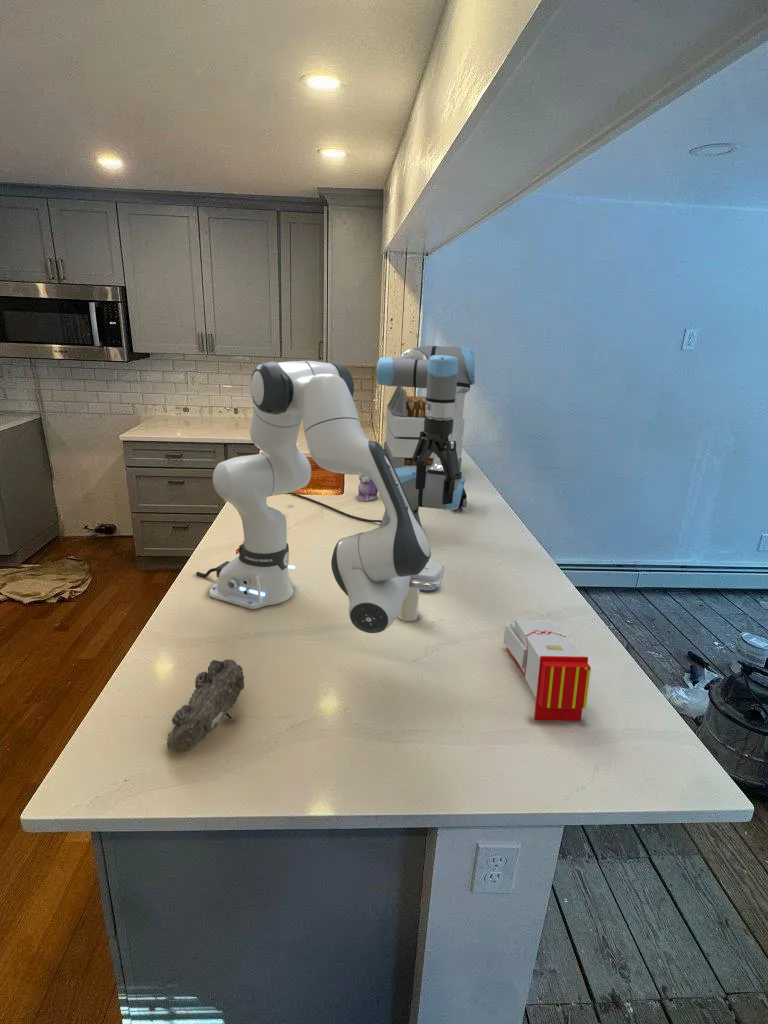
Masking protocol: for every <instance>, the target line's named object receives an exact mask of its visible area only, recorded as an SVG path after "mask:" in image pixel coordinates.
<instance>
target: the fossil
mask: <svg viewBox="0 0 768 1024" xmlns="http://www.w3.org/2000/svg"><path fill="white" fill-rule="evenodd" d="M243 670H244V669H243V667H242V665H240V664H237V662H236V661H235V660H234V659H232V658H231V659H227V658H226V659H224V660H223V661H222V660H217V659H212V660H211V661H210V663H209V665H208V666H207V671H201V672H199V673H198V674H197V675H196V676H195V680H194V684H195V685H194V687H195V689H194V690H193V693H192V694H191V697H190V698H189V700H188V704H184V705H182V706H181V707H180V709H177V710H176V711H175V713H174V715H173V716H172V718H171V723H172V724H173V727H172V730H171V731H170V732H168V734H167V738H166V741H167V742H166V745H167V749H168V750H169V751H173V752H174V753H176V754H178V753H182V752H188V751H189V752H192V751H193V750H195V748H196V747H197V746H199V744H200V743H201V742H203V741H204V740H205V739H206V738H207V737H208V736H209V735H210V734H211V733H212V732H214V730H215V729H217V727H218V726H219V724H220V722H221V721H222V720H223V719H224V718H225V716H226V717H227V719H229V720H233V717H232V715H230V714H229V710H230V709H231V708H234V706H235V704H236V703H237V702H238V699H239V697H240V695H241V693H242V691H243V690H245V689H244V688H245V675H244V671H243Z"/></svg>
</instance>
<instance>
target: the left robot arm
mask: <svg viewBox="0 0 768 1024" xmlns="http://www.w3.org/2000/svg"><path fill="white" fill-rule="evenodd" d="M354 394H355V383H354V378H353V375H352V373H351V372H350V370H349V368H347V366H345V365H343V364H340V363H337V362H332V361H330V362H323V361H316V360H304V359H303V360H291V361H290V360H289V361H288V360H287V361H280V362H279V361H274V360H272V361H267V362H263V363H260V364H258V365H256V367H255V368H254V370H253V372H252V374H251V377H250V395H251V399H252V402H253V404H254V408H253V413H252V419H251V424H250V428H249V436H250V439H251V441H252V444H254V446H255V447H256V448H257V449H258V450H260V451H262V453H256V454H249V455H240V456H235V457H231V458H228V459H226V460H223V461H220V462H219V463H217V465H216V466H215V468H214V470H213V473H212V485H213V488H214V491H215V492H216V494H217V495H218V496H219V497H220V498H221V499H222V500H224V501H226V502H228V503H230V505H232V506H233V508H235V510H236V511H237V512H238V514H239V516H240V519H241V522H242V530H243V543H241V544H240V545H239V546H238V548H237V549H236V550H235V555H238V556H237V557H235V558H234V559H232V560H231V561H229V560H227V561H225V562H223V563H221V564H220V565H217V566H216V567H213V568H209V569H208V570H207V571H206V573H203V572H200V571H196V572H195V574H196V576H199V577H202V578H207V577H209V575H211V573H214V572H216V578H218V579H217V580H216V581H215V582H214V583H213V584H212V586H211V587H210V588H209V594H208V596H209V597H210V598H213V599H217V600H219V601H223V602H226V603H230V604H233V605H236V606H240V607H243V608H246V609H249V610H257V609H260V608H263V607H267V606H273V605H278V604H282V603H284V602H286V601H287V600H288V601H289V599H291V598H292V597H293V595H294V592H295V590H294V587H293V583H292V581H291V575H290V571H289V569H292V570H293V569H296V566H295V565H289V564H290V550H289V549H290V548H289V543H288V532H287V531H288V530H287V529H288V527H287V519H286V516H285V515H284V513H283V512H281V511H280V510H278V509H277V508H274V507H271V506H269V505H268V504H267V503H268V502H267V498H268V497H274V496H279V495H285V494H287V493H294V492H295V491H299V490H302V489H303V488H305V487H307V486H308V485H309V483H310V481H311V477H312V466H311V463H310V461H309V459H308V457H307V456H306V455H305V454H303V453H302V452H301V451H299V449H298V447H297V444H298V443H297V441H298V436H299V431H300V428H301V422H302V426H303V431H304V437H305V441H306V446H307V449H308V452H309V455H310V457H311V459H312V460H313V461H314V463H315V464H316V465H317V466H319V467H320V468H321V469H322V470H323V469H324V470H326V471H328V472H330V473H334V474H341V475H352V476H353V475H354V476H359V475H362V476H366V477H368V478H370V479H371V480H372V481H373V482H374V484H375V486H376V488H377V490H378V492H377V494H378V495H379V497H380V499H381V502H382V504H383V507H384V510H385V509H386V511H387V514H388V516H389V518H390V523H389V524H388V525H387V526H384V527H381V528H379V527H378V528H375V529H370V530H367V531H362V532H358V533H355V534H352V535H347V536H346V537H342V538H339V540H338V541H337V542H336V545H335V546H334V549H333V552H332V555H331V562H330V565H331V571H332V575H333V577H334V580H335V582H336V584H337V585H338V587H339V588H340V589H341V591H342V592H343V593H344V594H345V595H346V596H347V598H348V616H349V617H348V618H349V619H350V623H352V625H353V626H354V627H355V628H356V629H357V630H359V631H361V632H364V633H368V634H378V633H382V632H384V631H386V630H387V629H388V628H389V627H391V625H392V624H393V623H394V622H395V620H396V619H397V617H398V613H399V611H400V609H401V606H402V602H403V601H404V599H405V598H406V595H407V593H408V591H409V589H410V588H417V589H423V590H433V589H435V588H437V589H438V588H440V587H441V586H442V582H443V579H444V573H445V571H444V570H445V565H444V564H443V563H442V562H439V561H432V560H430V559H431V556H432V551H431V546H430V545H431V544H430V542H429V541H430V540H429V538H428V537H427V534H426V533H425V531H424V529H423V526H422V527H421V525H422V524H421V525H420V523H419V522H418V520H417V518H416V516H415V514H414V512H413V510H412V507H411V505H410V503H409V501H408V498H407V496H406V494H405V491H404V489H403V487H402V485H401V482H400V480H399V478H398V476H397V473H396V471H395V469H394V467H393V465H392V463H391V461H390V459H389V457H388V455H387V453H386V452H385V450H384V446H382V445H381V443H379V442H378V441H374V440H370V438H368V436H367V435H366V433H365V431H364V430H363V427H362V425H361V420H360V416H359V413H358V410H357V406H356V404H355V401H354Z"/></svg>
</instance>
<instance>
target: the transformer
mask: <svg viewBox="0 0 768 1024" xmlns="http://www.w3.org/2000/svg"><path fill="white" fill-rule="evenodd" d="M407 394H408V393H407V390H406V389H404V387H398V386H396V388H395V390H394V392H393V394H392V395H391V398H390V400H389V402H388V404H387V405H386V413H385V414H386V415H385V423H386V428H385V438H384V442H383V449H384V450H385V452H386V453H387V455H388V457H389V459H390V461H391V463H392V465H393V467H394V469H396V468H400V467H405V466H406V467H417V466H416V464H415V462H413V461H412V458H413V455H414V452H415V449H416V447H417V444H418V441H419V438H420V432H421V431H424V419H425V418H426V417H427V416H426V415H425V406H426V396H415V395H414V396H413V395H412V396H411V395H407ZM464 429H465V419H464V418H463V419H462V430H461V440H460V451H459V461H458V463H459V468H460V469H461V470H462V461H463V460H462V453H463V442H464V441H463V440H462V439H463V438H464V431H465V430H464ZM433 456H434V452H433V453H432V454H431V456H430V457H429V459H428V460H427V462H426V464H427V465H423V466H427V467H430V466H431V465H432V464H433ZM417 457H419V456H417Z"/></svg>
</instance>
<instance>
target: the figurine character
mask: <svg viewBox="0 0 768 1024" xmlns="http://www.w3.org/2000/svg"><path fill="white" fill-rule="evenodd" d="M467 495H468V494H467V493H466V490H465V487H464V488H463V492H462V496H461V500H460V505H459V507H458V508H457V509H455V510H453V512H456V510H458V509H459V510H460V512H463V509H464V508H465V509H466V508H467V506H468V499H467V497H468V496H467Z"/></svg>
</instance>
